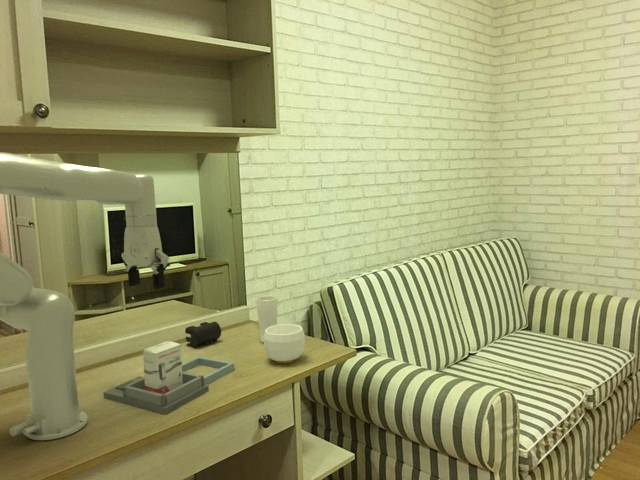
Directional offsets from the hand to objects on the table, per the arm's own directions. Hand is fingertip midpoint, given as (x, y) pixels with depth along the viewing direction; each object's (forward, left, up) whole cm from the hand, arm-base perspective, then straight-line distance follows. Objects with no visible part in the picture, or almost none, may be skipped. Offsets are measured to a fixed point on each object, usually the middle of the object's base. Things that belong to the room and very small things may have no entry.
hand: (146, 286), depth 136 cm
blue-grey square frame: (+12, -6, -27) cm, 30 cm away
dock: (-4, -5, -27) cm, 28 cm away
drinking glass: (+44, -7, -28) cm, 53 cm away
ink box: (-4, -8, -26) cm, 28 cm away
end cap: (+33, +12, -28) cm, 45 cm away
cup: (+31, -22, -28) cm, 47 cm away
